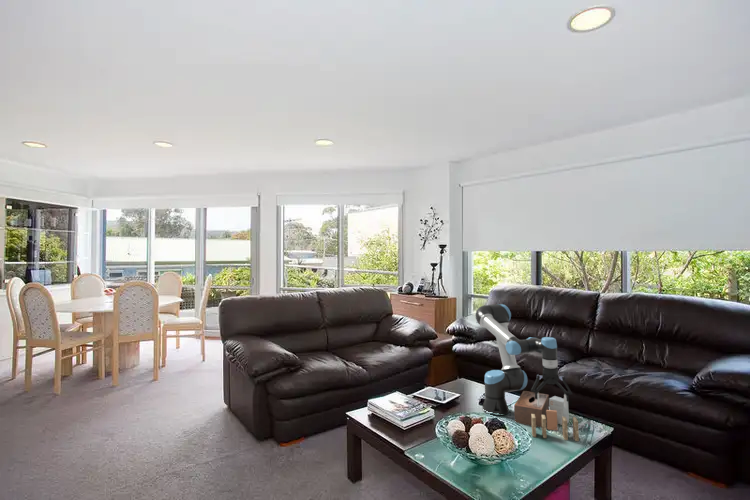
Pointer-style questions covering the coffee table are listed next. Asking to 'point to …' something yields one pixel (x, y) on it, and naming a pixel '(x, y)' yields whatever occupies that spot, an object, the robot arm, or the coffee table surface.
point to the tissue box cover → (531, 408)
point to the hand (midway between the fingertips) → (551, 406)
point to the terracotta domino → (551, 419)
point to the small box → (559, 408)
